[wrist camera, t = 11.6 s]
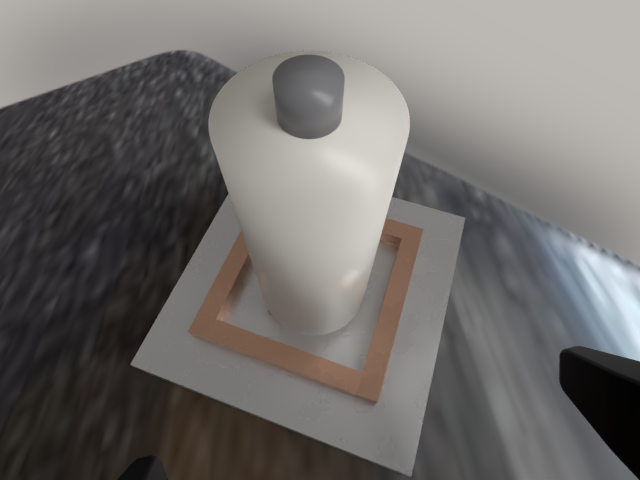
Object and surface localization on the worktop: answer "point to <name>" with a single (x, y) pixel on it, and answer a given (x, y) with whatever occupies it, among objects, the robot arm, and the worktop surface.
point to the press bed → (315, 339)
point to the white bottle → (310, 178)
